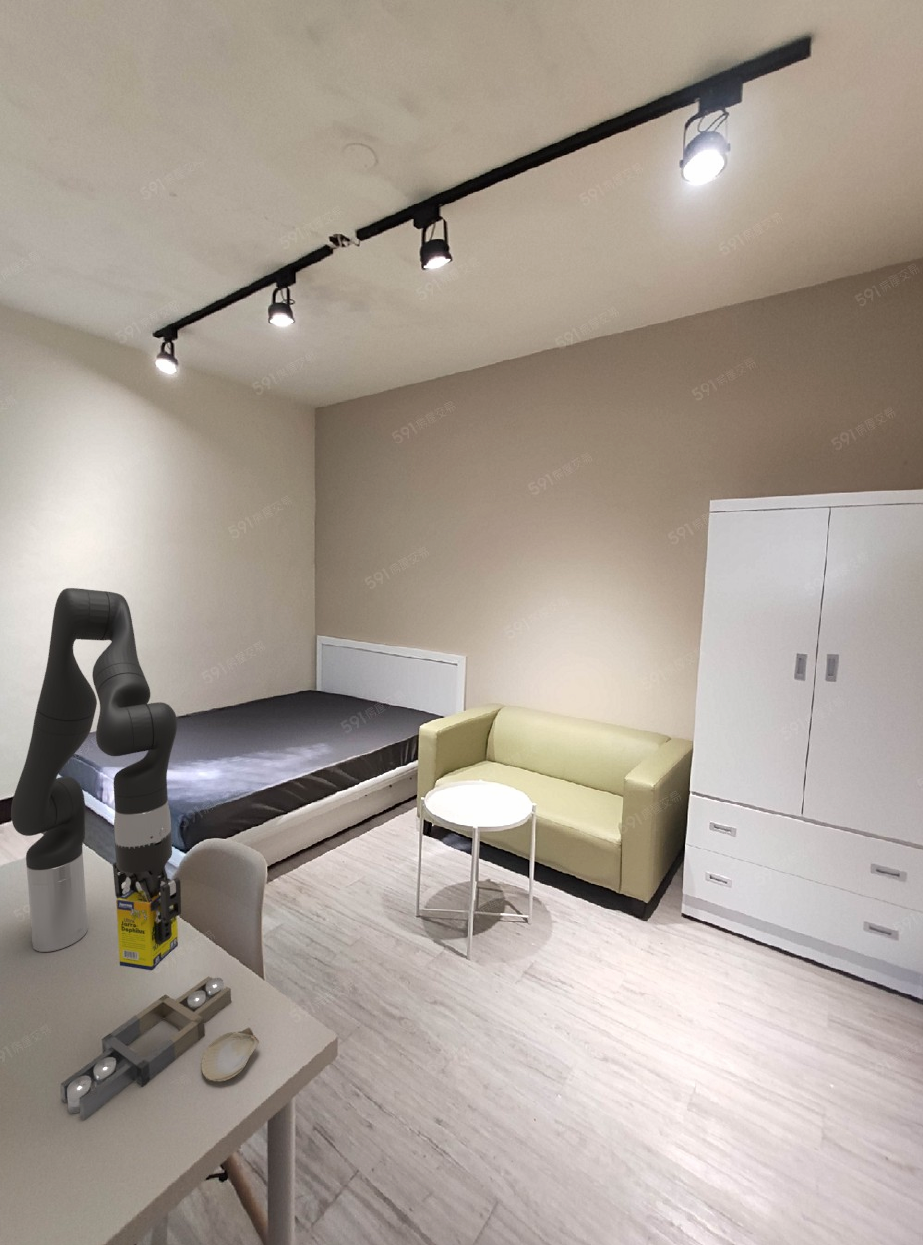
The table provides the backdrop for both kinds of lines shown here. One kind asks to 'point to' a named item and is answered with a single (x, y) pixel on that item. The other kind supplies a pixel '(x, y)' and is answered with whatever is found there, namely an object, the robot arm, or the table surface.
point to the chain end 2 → (187, 1012)
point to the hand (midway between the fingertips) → (148, 932)
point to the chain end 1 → (114, 1070)
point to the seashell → (228, 1055)
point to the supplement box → (141, 933)
